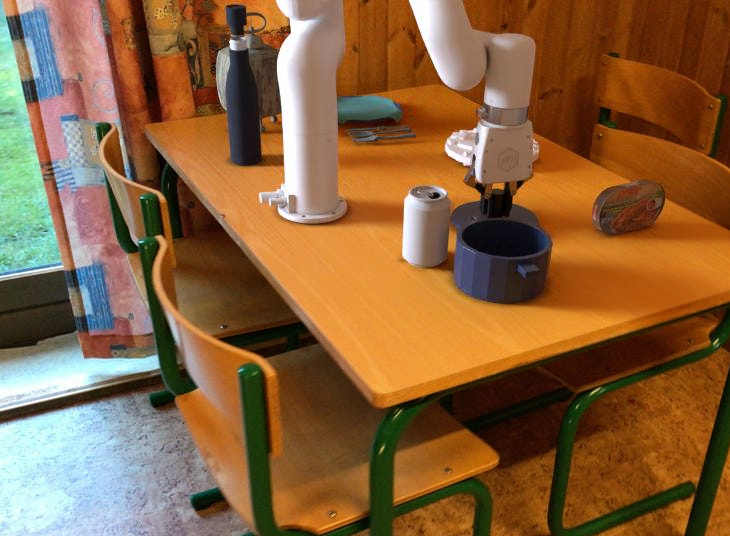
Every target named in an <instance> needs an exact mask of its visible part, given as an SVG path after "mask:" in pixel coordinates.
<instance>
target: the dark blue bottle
mask: <svg viewBox="0 0 730 536" xmlns="http://www.w3.org/2000/svg"><path fill="white" fill-rule="evenodd" d="M224 9H225V22H226V23H225V24H226V26H228V27H229V28H230V38H229V47H231V48H230V49H229V58H230V66H229V70H228V74H227V78H226V88H225V95H226V107H227V111H226V119H227V131H228V142H229V151H230V152H229V156H230V162H231V163H233V164H234V165H237V166H243V167H247V166H249V167H250V166H254V165H258V164H260V163H261V162H262V161H263V153H262V152H263V151H262V137H261V135H262V133H261V132H260V117H259V100H258V88H257V83H256V80H255V76H254V73H253V71H252V68H251V66H250V63H249V49H248V48H246V47H247V44H246V43H247V41H246V38H244V37H245V36H246V34H245V33H244V30H245V26H247V25H248V16H247V13H248V12H247V6H246V5H245V4H238V3H237V4H235V3H234V4H233V3H232V4H228V5H226V6H225V7H224Z"/></svg>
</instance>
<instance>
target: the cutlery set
mask: <svg viewBox="0 0 730 536" xmlns="http://www.w3.org/2000/svg"><path fill="white" fill-rule="evenodd" d="M337 111H338V124H341V125H344V124H345V123H347V124H348V123H349V124H375V123H376V124H377V123H382V122H383V123H384V122H386V121H390V120H393V119H394V121H395V124H397V123H399V121H400V120H401V119H402V117H403V108H402V105H400V104H399V103H398V102H396V101H394V100H392V99H391V98H388V97H385V96H380V95H372V94H366V95H345V96H337ZM389 129H390V130H389ZM381 130H382V131H381ZM373 131H377V132H373ZM345 133H348V136H349V137H352V138H351V141H352V143H356V144H357V143H358V144H359V143H377V142H379V141H380V140H385V141H386V140H387V141H392V140H403V139H404V140H405V139H416V138H417V134H416V133H415V132H412V128H411V127H408V125H401V126H385V125H381V126H379V125H377V126H376V127H359V128H349V129H345ZM395 133H405V134H400V135H392V136H391V135H390V136H379V135H385V134H395ZM353 138H354V139H353ZM355 138H356V139H355Z"/></svg>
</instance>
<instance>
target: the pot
mask: <svg viewBox="0 0 730 536" xmlns="http://www.w3.org/2000/svg"><path fill="white" fill-rule="evenodd" d="M455 238H456V239H455V249H454V263H453V282H454V284H455V286H456V287H457V288H458V289H459V290H460V291H462V293H464V294H466V295H467V296H469V297H471V298H474V299H477V300H480V301H483V302H488V303H494V304H518V303H519V304H520V303H524V302H529V301H532V300H534V299H536V298H538V297H539V296H541V295H542V294H543V293H544V292H545V290H546V286H547V284H548V279H549V271H550V266H551V259H552V252H553V246H554V242H553V239H552V235H550V234H549V233H548V232H547V231H546V230H545V229H543V228H542V227H540V226H539V225H538V226H536V225H534V224H532V223H528V222H524V221H521V220H516V219H508V218H487V217H486V216H485V215H481V216H473V217H471V222H469V223H467V224H465V225H463V226H461V228H460V229H458V230H457V232H456V237H455Z"/></svg>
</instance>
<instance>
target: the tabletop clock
mask: <svg viewBox="0 0 730 536" xmlns="http://www.w3.org/2000/svg"><path fill="white" fill-rule="evenodd" d="M246 13H247V17H252V16H254V17H260V18H261V19H262V20H263V25H262V26H261V27H259V28H257V29H255V27H254V26H253V25H250V26H249V27H248V30H247V29H246V30H245V29H244V34H245V36H244V37H243V38H246V41H247V43H246V44H247V47H246V48H248V49H249V63H250V66H251V68H252V71H253V73H254V76H255V80H256V83H257V88H258V100H259V117H260V134H263V133H265V132H266V130H267V129H266V126H265V125H263V119H267V118H270V122H272V123H277V122H278V120H279V118H278V115H280V114H281V115H282V105H281V95H280V88H279V82H278V74H277V61H278V55H279V52H280V49H279V48H276V47H274V46H273V45H270V44H267V43H265V41H264V39H263V38H262V37H261V36H260V35H258V34H257V33H260V32H261V31H264V29H265V28H266V27H267V22H268V21H267V18H266V17H265V16H264V15H263V14H262V13H260V12H258V11H257V12H256V11H250V12H249V11H248V12H246ZM230 48H231V47H230V46H226V47H223V48H222V49H220V50H219V51H218V52H217V53H218V54H217V56H216V64H215V69H216V70H215V73H216V74H215V76H216V77H215V78H216V88H217V94H218V98H219V102H220V104H221V106H222V109H224V110H225V111H226V112H227V107H226V95H225V88H226V78H227V74H228V70H229V66H230V58H229V49H230Z"/></svg>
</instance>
